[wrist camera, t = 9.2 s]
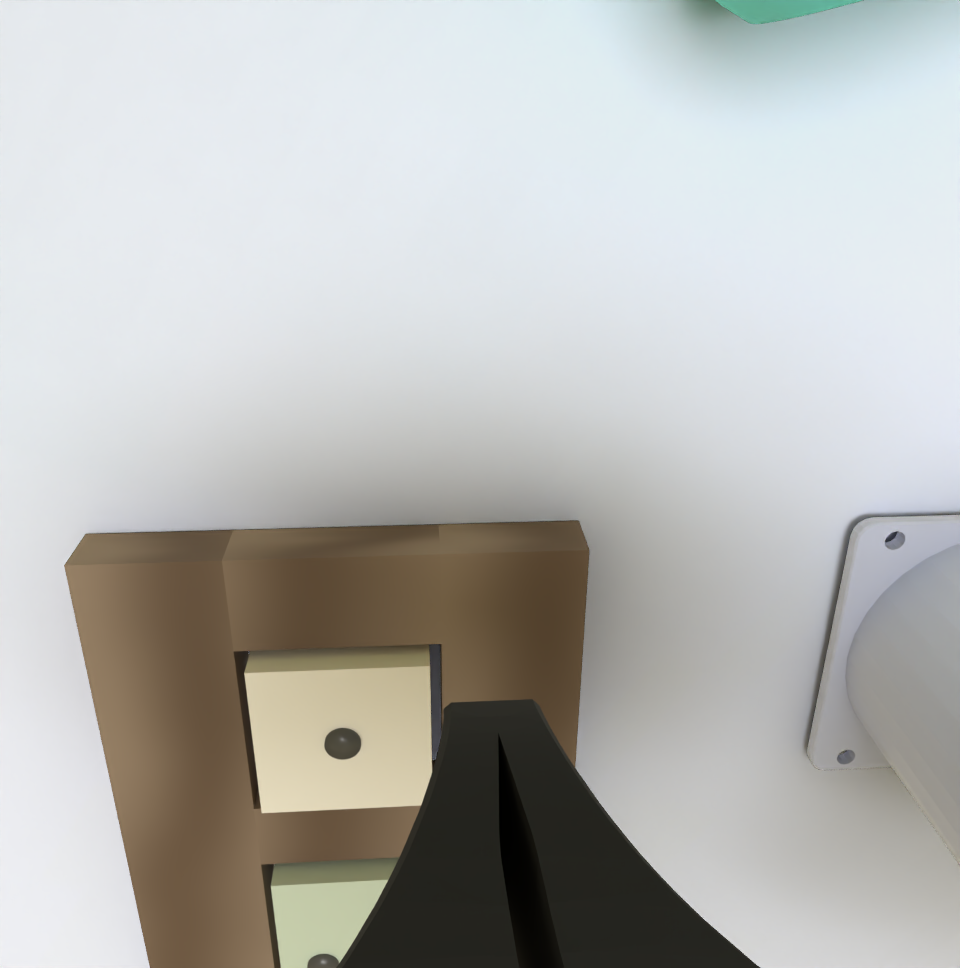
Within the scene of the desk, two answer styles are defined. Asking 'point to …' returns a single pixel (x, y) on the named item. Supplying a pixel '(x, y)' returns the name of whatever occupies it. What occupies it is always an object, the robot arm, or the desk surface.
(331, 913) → the sage button
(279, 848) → the button board
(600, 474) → the desk surface
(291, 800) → the cream button
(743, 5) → the decorative dice
